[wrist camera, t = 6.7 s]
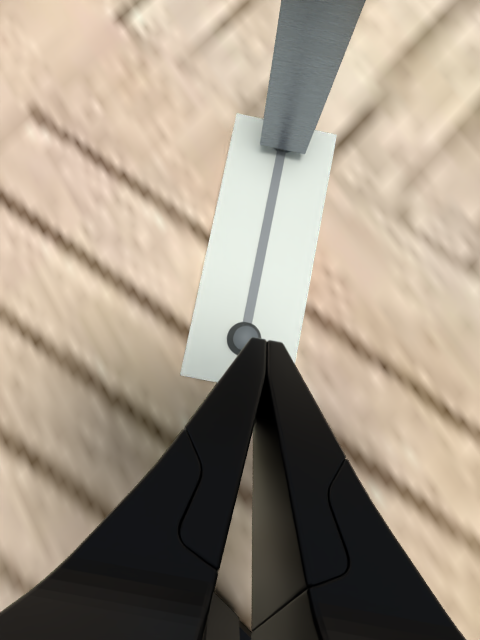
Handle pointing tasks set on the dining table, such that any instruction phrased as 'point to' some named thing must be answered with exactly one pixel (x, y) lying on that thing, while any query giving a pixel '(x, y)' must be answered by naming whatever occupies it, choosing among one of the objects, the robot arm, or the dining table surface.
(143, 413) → the dining table surface
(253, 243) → the bolt plate
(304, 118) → the gray metal block
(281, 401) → the robot arm
